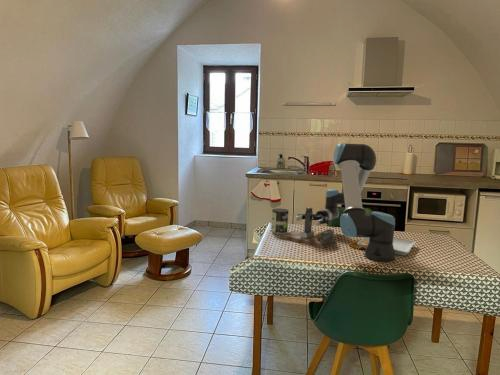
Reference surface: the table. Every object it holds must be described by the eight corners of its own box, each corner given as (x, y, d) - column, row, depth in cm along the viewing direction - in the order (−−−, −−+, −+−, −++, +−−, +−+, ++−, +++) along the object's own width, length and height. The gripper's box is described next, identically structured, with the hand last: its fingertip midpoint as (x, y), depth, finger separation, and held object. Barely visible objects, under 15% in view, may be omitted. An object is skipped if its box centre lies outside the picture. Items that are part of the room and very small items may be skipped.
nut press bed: (335, 243, 226) (336, 229, 225) (323, 248, 215) (324, 234, 214) (293, 234, 243) (294, 221, 242) (281, 238, 232) (282, 224, 231)
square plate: (368, 238, 241) (369, 232, 240) (416, 247, 227) (416, 240, 226) (356, 249, 218) (356, 242, 217) (408, 258, 204) (408, 251, 203)
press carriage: (314, 236, 231) (316, 207, 229) (306, 238, 224) (308, 209, 222) (308, 234, 234) (310, 206, 231) (300, 237, 227) (302, 208, 224)
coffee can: (290, 231, 247) (291, 210, 245) (281, 235, 239) (282, 212, 237) (277, 229, 254) (278, 207, 252) (267, 231, 245) (268, 209, 243)
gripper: (341, 225, 235) (325, 231, 218) (305, 218, 250) (287, 223, 233) (342, 213, 234) (326, 218, 217) (306, 206, 249) (288, 211, 232)
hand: (306, 221), depth 225 cm, fingers open, 13 cm apart
